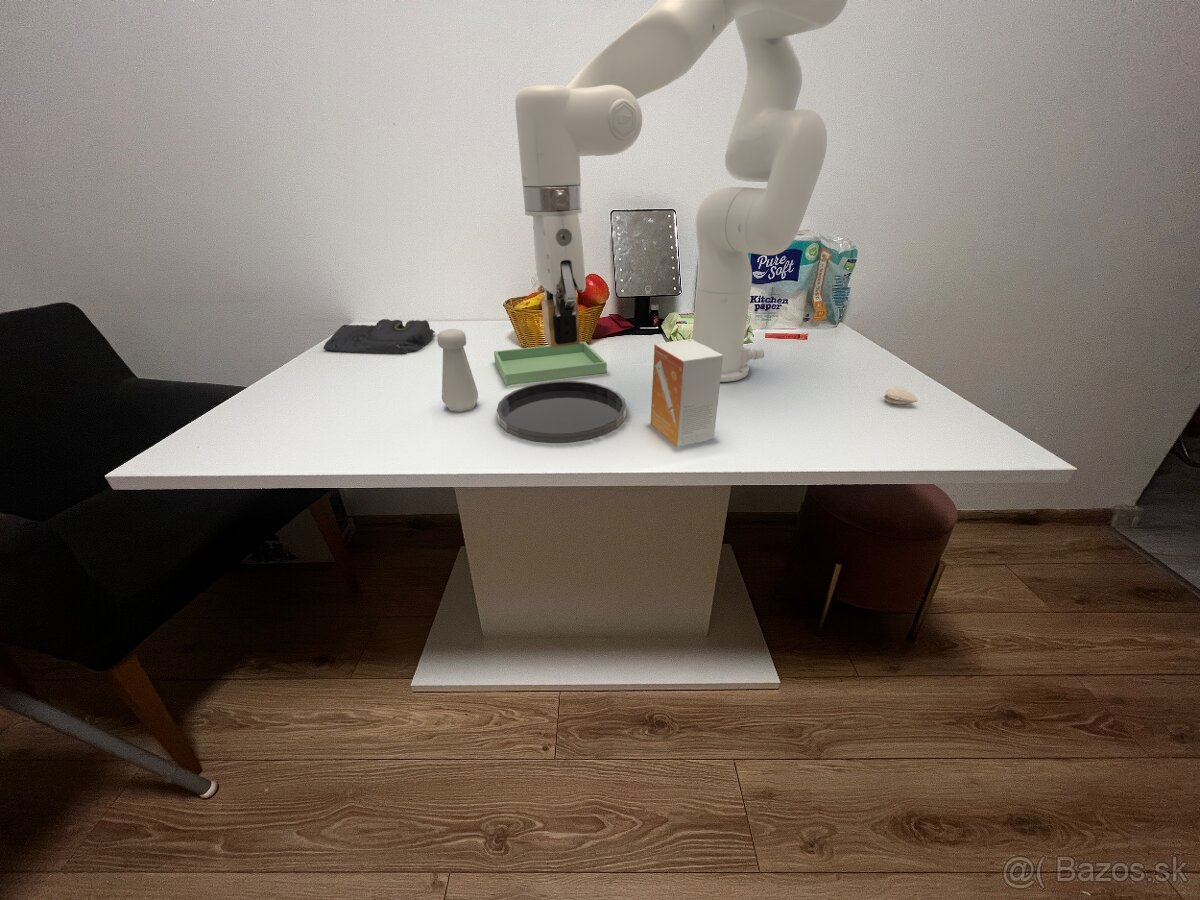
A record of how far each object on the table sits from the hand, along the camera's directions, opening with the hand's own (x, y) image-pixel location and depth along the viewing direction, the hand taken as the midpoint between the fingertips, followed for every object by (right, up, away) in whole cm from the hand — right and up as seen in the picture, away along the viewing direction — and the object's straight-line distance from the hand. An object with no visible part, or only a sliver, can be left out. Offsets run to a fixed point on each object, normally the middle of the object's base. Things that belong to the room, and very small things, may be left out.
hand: (561, 336), depth 76 cm
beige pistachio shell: (+55, -9, +9) cm, 57 cm away
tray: (-4, -1, +25) cm, 25 cm away
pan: (0, -11, +6) cm, 13 cm away
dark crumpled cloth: (-44, +7, +41) cm, 61 cm away
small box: (+18, -15, 0) cm, 23 cm away
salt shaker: (-17, -10, +8) cm, 22 cm away
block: (0, -1, 0) cm, 1 cm away
